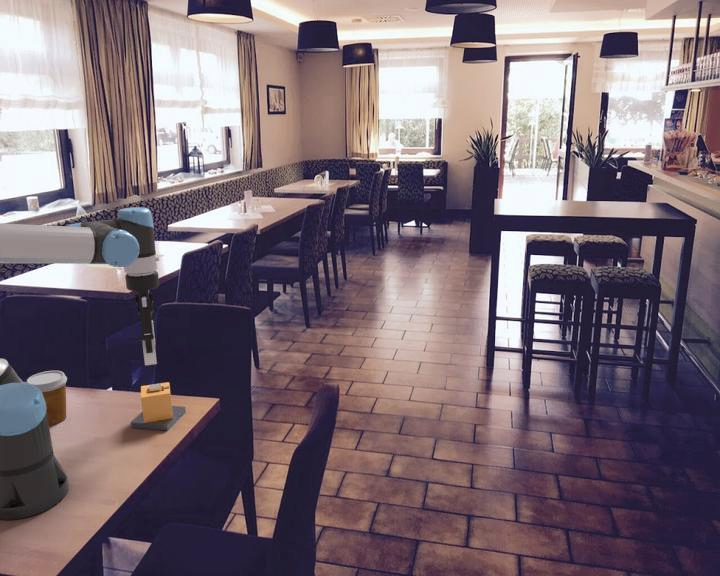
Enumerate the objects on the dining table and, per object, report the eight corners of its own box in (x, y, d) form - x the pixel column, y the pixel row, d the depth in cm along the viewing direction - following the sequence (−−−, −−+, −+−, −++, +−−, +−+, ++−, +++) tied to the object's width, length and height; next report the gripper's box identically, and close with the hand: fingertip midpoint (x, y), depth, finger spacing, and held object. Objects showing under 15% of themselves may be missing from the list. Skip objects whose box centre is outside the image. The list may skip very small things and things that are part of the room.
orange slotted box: (144, 422, 151) (140, 397, 149) (144, 410, 157) (140, 385, 155) (173, 418, 153) (170, 392, 151) (171, 406, 160) (169, 381, 158)
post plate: (167, 430, 150) (163, 396, 147) (131, 427, 152) (126, 393, 149) (185, 411, 159) (182, 379, 157) (151, 409, 161) (147, 376, 159)
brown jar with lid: (80, 412, 160) (74, 370, 157) (57, 430, 151) (50, 386, 148) (49, 409, 162) (41, 368, 158) (24, 427, 153) (15, 384, 149)
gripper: (159, 283, 135) (168, 370, 140) (156, 260, 157) (164, 336, 163) (123, 286, 132) (134, 375, 138) (125, 262, 155) (134, 339, 160)
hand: (150, 354), depth 150 cm, fingers open, 13 cm apart
